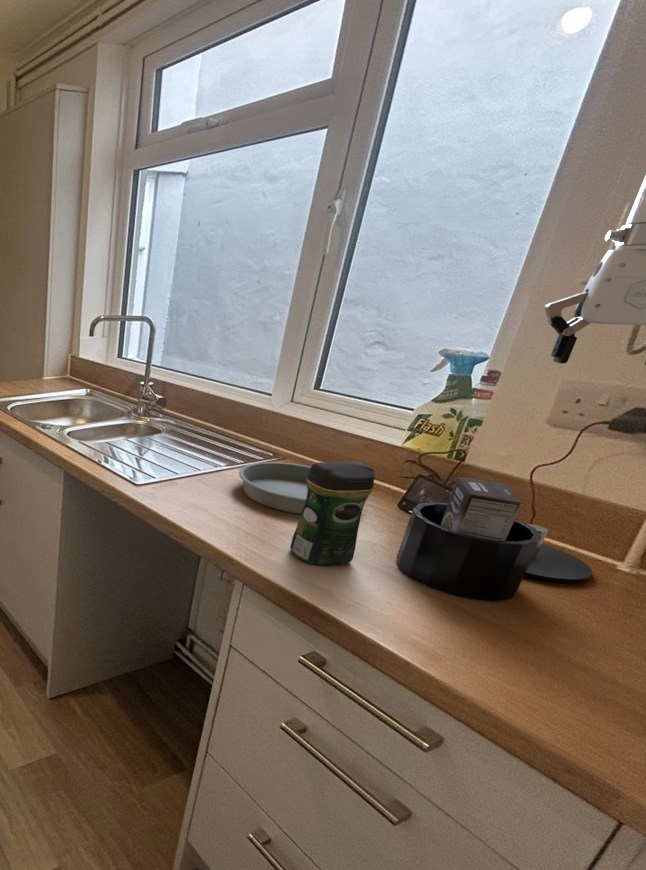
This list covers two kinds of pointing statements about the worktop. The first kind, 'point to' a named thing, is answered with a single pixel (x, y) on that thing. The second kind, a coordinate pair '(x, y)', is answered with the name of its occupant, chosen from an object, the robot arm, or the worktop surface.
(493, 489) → the coffee box
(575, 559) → the bin lid
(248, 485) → the cake pan
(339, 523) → the coffee jar
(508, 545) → the bin
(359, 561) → the worktop surface
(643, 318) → the robot arm
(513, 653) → the worktop surface
